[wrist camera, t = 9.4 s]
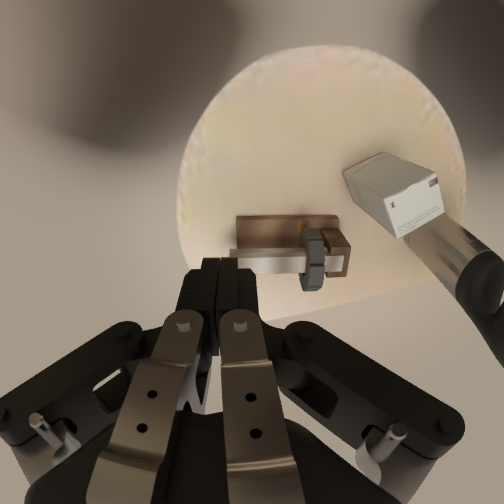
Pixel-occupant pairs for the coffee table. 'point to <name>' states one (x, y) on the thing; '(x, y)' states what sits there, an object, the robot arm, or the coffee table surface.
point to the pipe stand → (288, 244)
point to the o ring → (312, 259)
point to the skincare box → (395, 192)
